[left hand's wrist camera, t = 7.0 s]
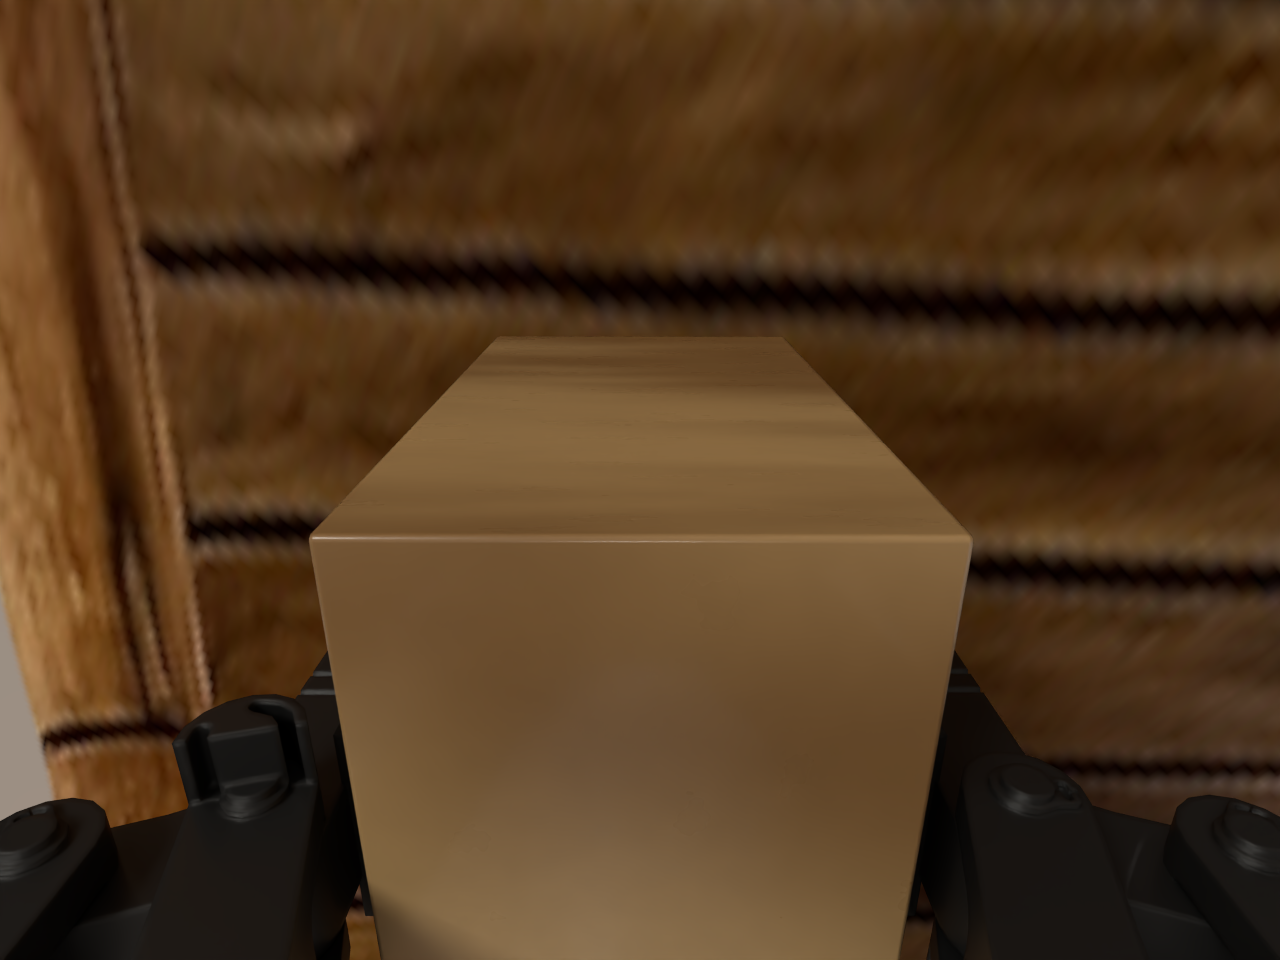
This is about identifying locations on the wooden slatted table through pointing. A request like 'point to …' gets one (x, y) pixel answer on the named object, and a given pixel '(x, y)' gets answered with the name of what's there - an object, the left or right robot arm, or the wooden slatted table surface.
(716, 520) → the bar
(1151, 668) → the wooden slatted table surface
